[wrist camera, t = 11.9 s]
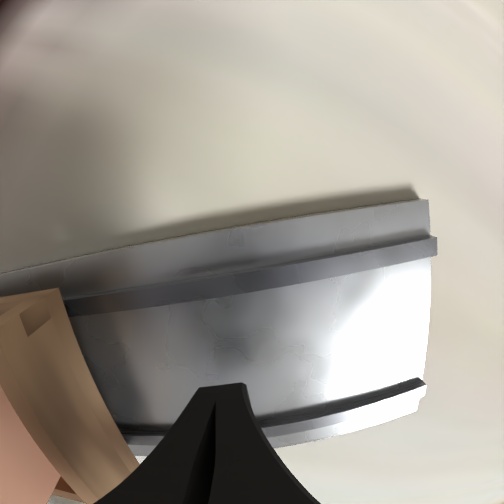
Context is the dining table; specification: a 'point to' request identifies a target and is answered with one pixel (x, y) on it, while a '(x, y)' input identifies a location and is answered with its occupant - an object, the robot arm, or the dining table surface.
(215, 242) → the rail
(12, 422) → the block
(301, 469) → the dining table surface
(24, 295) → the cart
